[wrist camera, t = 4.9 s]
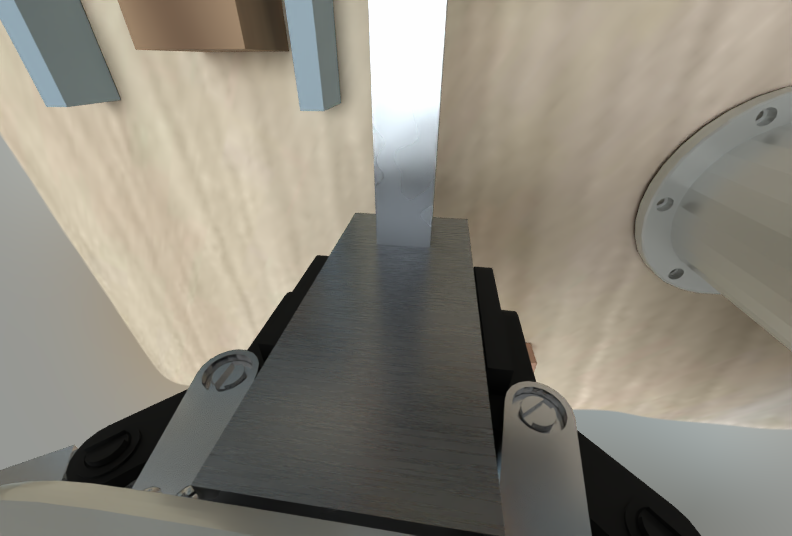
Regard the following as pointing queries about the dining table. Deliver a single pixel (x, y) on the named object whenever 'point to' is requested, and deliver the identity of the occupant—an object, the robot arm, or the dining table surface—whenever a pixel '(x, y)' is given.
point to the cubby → (90, 78)
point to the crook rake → (379, 341)
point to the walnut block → (206, 25)
